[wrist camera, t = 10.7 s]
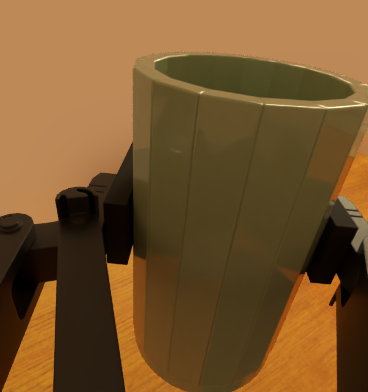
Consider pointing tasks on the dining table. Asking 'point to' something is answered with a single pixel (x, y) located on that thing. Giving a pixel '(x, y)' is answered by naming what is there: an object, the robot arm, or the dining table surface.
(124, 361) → the dining table surface
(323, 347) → the dining table surface
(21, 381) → the dining table surface
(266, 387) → the dining table surface
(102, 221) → the robot arm
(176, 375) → the cup
